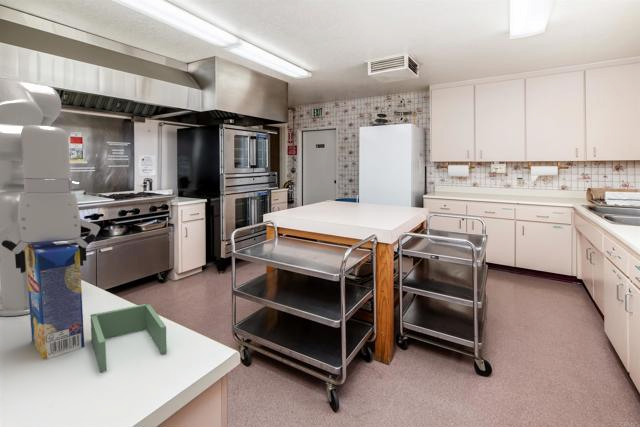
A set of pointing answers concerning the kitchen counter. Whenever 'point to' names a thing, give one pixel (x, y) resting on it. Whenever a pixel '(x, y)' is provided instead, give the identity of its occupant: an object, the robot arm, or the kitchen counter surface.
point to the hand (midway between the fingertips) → (53, 267)
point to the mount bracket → (126, 328)
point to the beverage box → (55, 297)
